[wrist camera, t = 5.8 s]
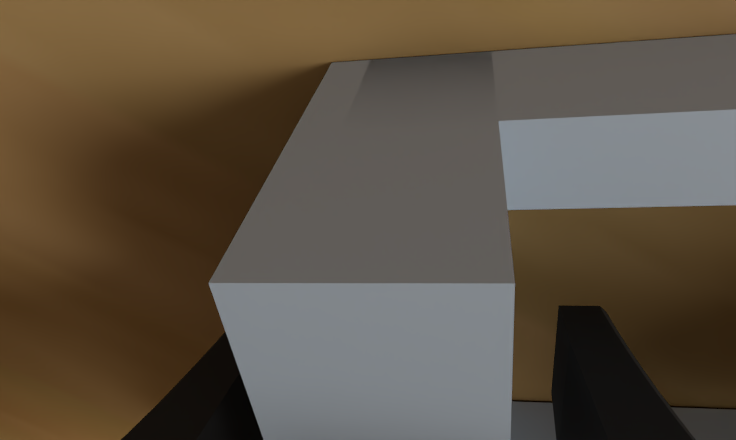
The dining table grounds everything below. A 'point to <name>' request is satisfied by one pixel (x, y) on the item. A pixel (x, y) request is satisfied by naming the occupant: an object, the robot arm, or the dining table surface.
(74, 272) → the dining table surface
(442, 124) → the gray rectangular open frame
